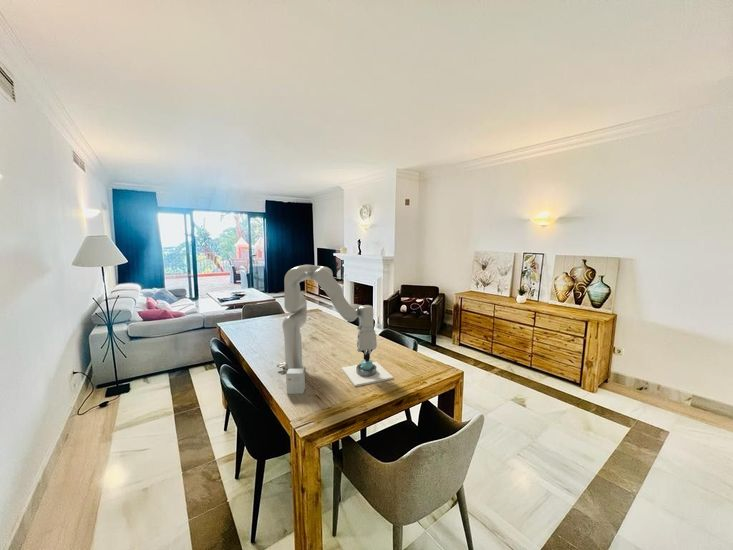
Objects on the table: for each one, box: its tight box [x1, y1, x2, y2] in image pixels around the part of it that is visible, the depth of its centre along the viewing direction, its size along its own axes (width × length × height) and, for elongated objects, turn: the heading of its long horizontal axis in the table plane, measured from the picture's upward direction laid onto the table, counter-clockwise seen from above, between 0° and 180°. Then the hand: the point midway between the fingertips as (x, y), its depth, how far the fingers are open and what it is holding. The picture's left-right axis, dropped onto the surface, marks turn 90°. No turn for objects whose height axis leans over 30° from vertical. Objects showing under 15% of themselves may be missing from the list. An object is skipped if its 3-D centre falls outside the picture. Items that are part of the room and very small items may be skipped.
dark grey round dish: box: [356, 363, 376, 377], centre depth 164 cm, size 11×11×3 cm
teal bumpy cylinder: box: [360, 359, 374, 370], centre depth 164 cm, size 7×6×6 cm
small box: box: [285, 368, 306, 395], centre depth 145 cm, size 8×6×10 cm
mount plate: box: [341, 361, 394, 388], centre depth 165 cm, size 22×22×1 cm
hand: (366, 360), depth 164 cm, fingers closed
